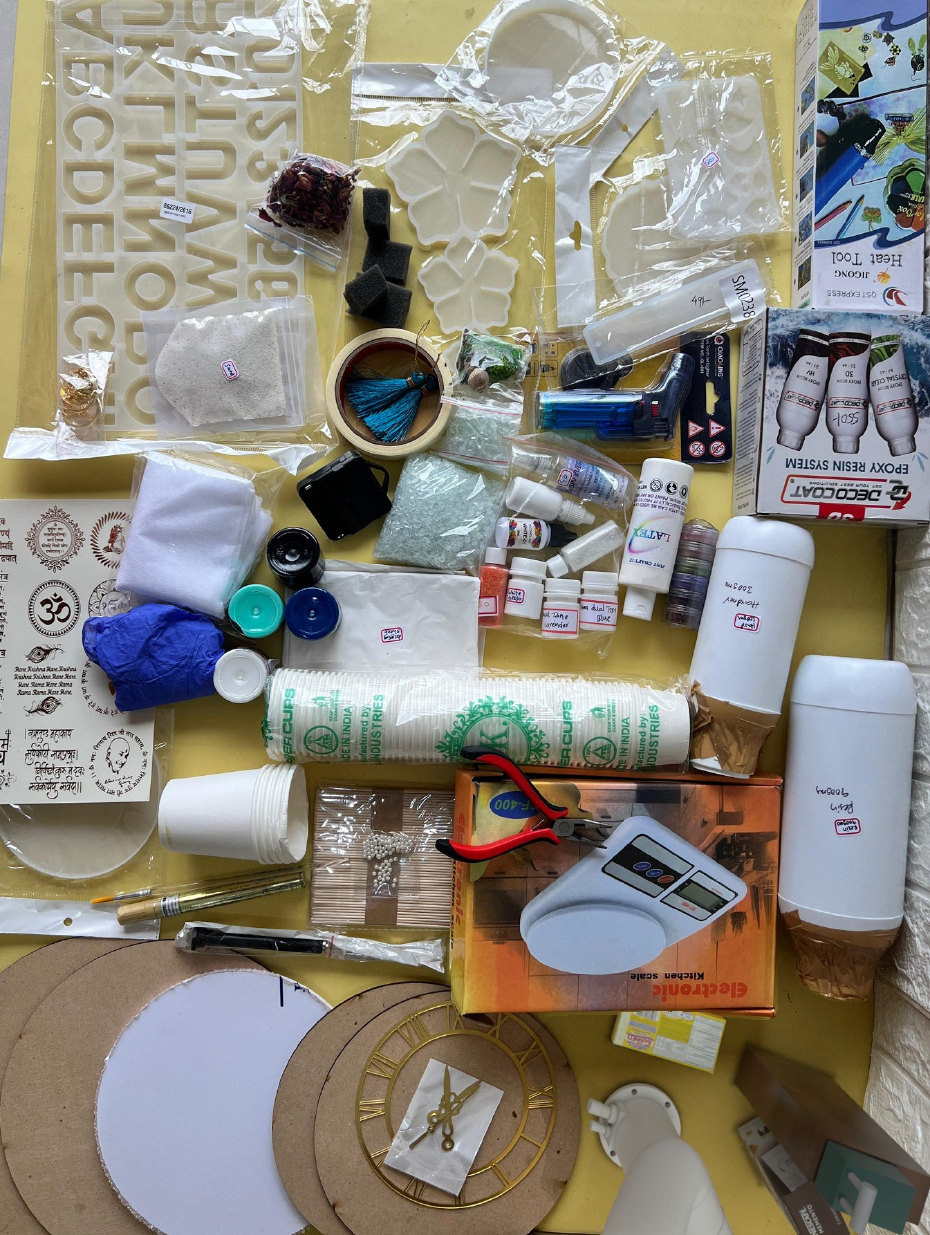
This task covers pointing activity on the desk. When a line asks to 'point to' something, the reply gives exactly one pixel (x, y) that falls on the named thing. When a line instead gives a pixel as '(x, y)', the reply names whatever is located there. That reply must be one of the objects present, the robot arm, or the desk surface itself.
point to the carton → (864, 1189)
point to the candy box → (672, 1036)
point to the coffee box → (790, 1184)
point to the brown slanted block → (820, 1120)
